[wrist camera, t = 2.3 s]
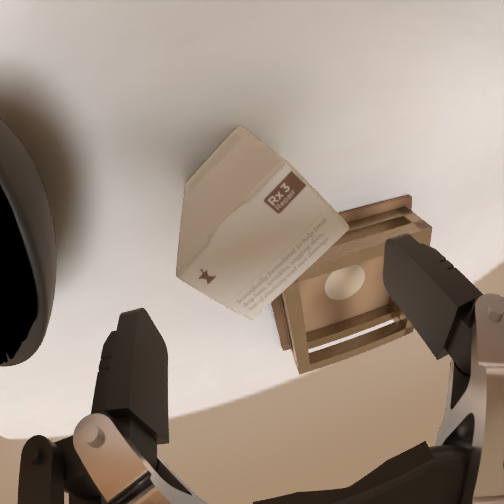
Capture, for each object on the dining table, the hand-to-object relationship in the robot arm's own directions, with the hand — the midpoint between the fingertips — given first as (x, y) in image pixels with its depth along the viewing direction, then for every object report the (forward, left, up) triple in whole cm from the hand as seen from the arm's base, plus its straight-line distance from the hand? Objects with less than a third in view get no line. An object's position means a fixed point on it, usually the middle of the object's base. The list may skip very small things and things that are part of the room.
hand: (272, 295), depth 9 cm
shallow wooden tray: (-8, +14, -14) cm, 21 cm away
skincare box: (0, 0, -15) cm, 15 cm away
